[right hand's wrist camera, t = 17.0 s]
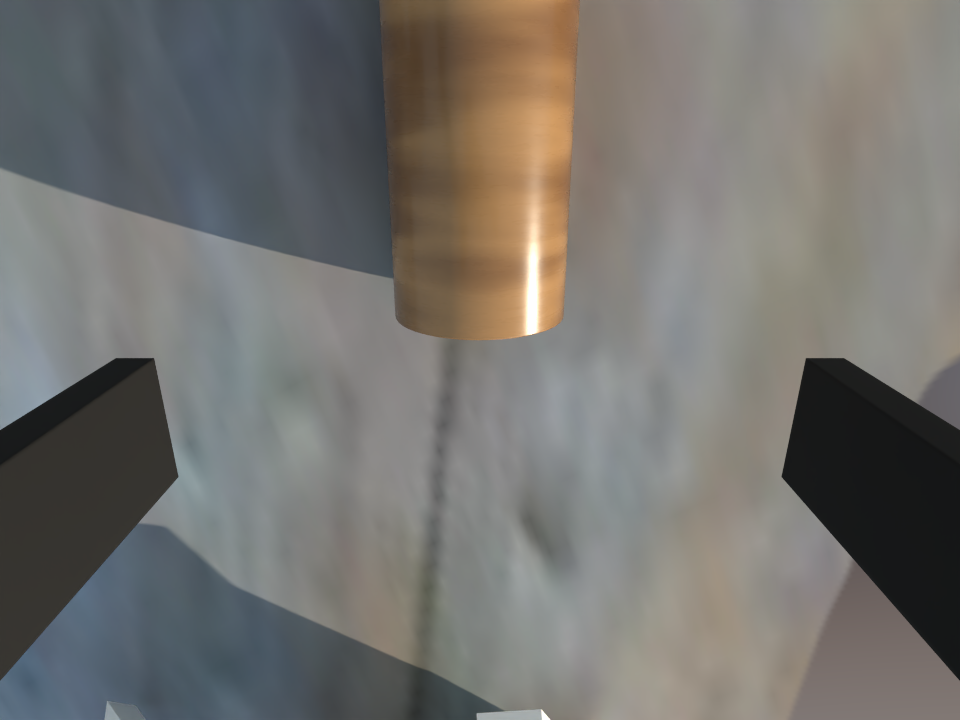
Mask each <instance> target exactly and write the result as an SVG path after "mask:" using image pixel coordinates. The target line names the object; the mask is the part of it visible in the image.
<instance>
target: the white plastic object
mask: <svg viewBox="0 0 960 720" xmlns="http://www.w3.org/2000/svg"><path fill="white" fill-rule="evenodd" d="M105 720H146V719H145V718H144V716H143V715H142V714H141V712H140V711H139V709H138V708H137V707H136V705H130V704H124V703H118V702H112V701H107V706H106V713H105ZM477 720H550V719H549V718H548V716H547V715H546V714H545V713H544V712H543V711H542V710H541V709H536V710H520V711H504V712H488V713H477Z"/></svg>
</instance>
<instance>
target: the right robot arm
mask: <svg viewBox="0 0 960 720" xmlns="http://www.w3.org/2000/svg"><path fill="white" fill-rule="evenodd" d="M177 478H178V473H177V468H176V463H175V458H174V453H173V448H172V443H171V439H170V434H169V429H168V424H167V419H166V414H165V409H164V405H163V400H162V395H161V390H160V385H159V380H158V375H157V371H156V366H155V361H154V358H116V359H114V360H112V361H111V362H109V363H108V364H106V365H104V366H103V367H101V368H100V369H98V370H96V371H95V372H93V373H91V374H90V375H88V376H87V377H85V378H83V379H82V380H80V381H79V382H77V383H75V384H74V385H72V386H71V387H69V388H67V389H66V390H64V391H63V392H61V393H59V394H58V395H56V396H54V397H53V398H51V399H50V400H48V401H46V402H45V403H43V404H42V405H40V406H38V407H37V408H35V409H34V410H32V411H30V412H29V413H27V414H25V415H24V416H22V417H21V418H19V419H17V420H16V421H14V422H13V423H11V424H9V425H8V426H6V427H5V428H3V429H1V430H0V680H1V679H2V678H3V677H4V676H5V675H6V673H7V672H8V671H9V670H10V669H11V668H12V667H13V665H14V664H15V663H16V662H17V661H18V660H19V659H20V657H21V656H22V655H23V654H24V653H25V652H26V651H27V649H28V648H29V647H30V646H31V645H32V644H33V643H34V641H35V640H36V639H37V638H38V637H39V636H40V635H41V633H42V632H43V631H44V630H45V629H46V628H47V627H48V625H49V624H50V623H51V622H52V621H53V620H54V619H55V617H56V616H57V615H58V614H59V613H60V612H61V611H62V609H63V608H64V607H65V606H66V605H67V604H68V603H69V601H70V600H71V599H72V598H73V597H74V596H75V595H76V593H77V592H78V591H79V590H80V589H81V588H82V587H83V585H84V584H85V583H86V582H87V581H88V580H89V579H90V577H91V576H92V575H93V574H94V573H95V572H96V571H97V569H98V568H99V567H100V566H101V565H102V564H103V563H104V561H105V560H106V559H107V558H108V557H109V556H110V555H111V553H112V552H113V551H114V550H115V549H116V548H117V546H118V545H119V544H120V543H121V542H122V541H123V540H124V538H125V537H126V536H127V535H128V534H129V533H130V532H131V530H132V529H133V528H134V527H135V526H136V525H137V524H138V522H139V521H140V520H141V519H142V518H143V517H144V516H145V514H146V513H147V512H148V511H149V510H150V509H151V508H152V506H153V505H154V504H155V503H156V502H157V501H158V500H159V498H160V497H161V496H162V495H163V494H164V493H165V492H166V490H167V489H168V488H169V487H170V486H171V485H172V484H173V482H174V481H175V480H176V479H177ZM782 478H783V479H784V480H785V481H786V482H787V484H788V485H789V486H790V487H791V488H792V489H793V490H794V492H795V493H796V494H797V495H798V496H799V497H800V498H801V500H802V501H803V502H804V503H805V504H806V505H807V506H808V508H809V509H810V510H811V511H812V512H813V513H814V514H815V516H816V517H817V518H818V519H819V520H820V521H821V522H822V524H823V525H824V526H825V527H826V528H827V529H828V530H829V532H830V533H831V534H832V535H833V536H834V537H835V538H836V540H837V541H838V542H839V543H840V544H841V545H842V547H843V548H844V549H845V550H846V551H847V552H848V553H849V555H850V556H851V557H852V558H853V559H854V560H855V561H856V563H857V564H858V565H859V566H860V567H861V568H862V569H863V571H864V572H865V573H866V574H867V575H868V576H869V577H870V579H871V580H872V581H873V582H874V583H875V584H876V585H877V587H878V588H879V589H880V590H881V591H882V592H883V593H884V595H885V596H886V597H887V598H888V599H889V600H890V601H891V602H892V604H893V605H894V606H895V607H896V608H897V609H898V610H899V612H900V613H901V614H902V615H903V616H904V617H905V618H906V620H907V621H908V622H909V623H910V624H911V625H912V627H913V628H914V629H915V630H916V631H917V632H918V633H919V634H920V636H921V637H922V638H923V639H924V640H925V641H926V643H927V644H928V645H929V646H930V647H931V648H932V649H933V651H934V652H935V653H936V654H937V655H938V656H939V657H940V658H941V660H942V661H943V662H944V663H945V664H946V665H947V666H948V668H949V669H950V670H951V671H952V672H953V673H954V675H955V676H956V677H957V678H958V679H959V680H960V430H959V429H957V428H955V427H954V426H952V425H951V424H949V423H947V422H946V421H944V420H943V419H941V418H939V417H938V416H936V415H935V414H933V413H931V412H930V411H928V410H926V409H925V408H923V407H922V406H920V405H918V404H917V403H915V402H914V401H912V400H910V399H909V398H907V397H906V396H904V395H902V394H901V393H899V392H897V391H896V390H894V389H893V388H891V387H889V386H888V385H886V384H885V383H883V382H881V381H880V380H878V379H877V378H875V377H873V376H872V375H870V374H869V373H867V372H865V371H864V370H862V369H860V368H859V367H857V366H856V365H854V364H852V363H851V362H849V361H848V360H846V359H844V358H806V361H805V366H804V371H803V375H802V380H801V385H800V390H799V395H798V400H797V405H796V409H795V414H794V419H793V424H792V429H791V434H790V439H789V443H788V448H787V453H786V458H785V463H784V468H783V473H782Z"/></svg>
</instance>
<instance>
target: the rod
mask: <svg viewBox="0 0 960 720" xmlns="http://www.w3.org/2000/svg"><path fill="white" fill-rule="evenodd" d="M579 4H580V0H379V8H380V28H381V47H382V66H383V85H384V105H385V124H386V143H387V163H388V182H389V201H390V220H391V240H392V259H393V278H394V298H395V316H396V319H397V321H398V322H399V323H400V324H401V325H402V326H404V327H406V328H408V329H410V330H413V331H415V332H419V333H422V334H426V335H431V336H436V337H442V338H450V339H462V340H497V339H509V338H517V337H523V336H528V335H533V334H537V333H540V332H543V331H546V330H549V329H551V328H553V327H555V326H556V325H558V324H559V323H560V322H561V321H562V319H563V315H564V295H565V276H566V257H567V237H568V218H569V198H570V179H571V159H572V140H573V121H574V101H575V82H576V62H577V43H578V24H579Z"/></svg>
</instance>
